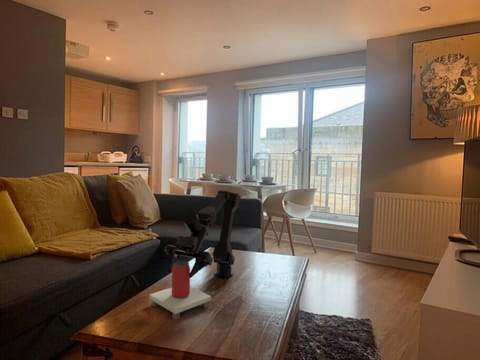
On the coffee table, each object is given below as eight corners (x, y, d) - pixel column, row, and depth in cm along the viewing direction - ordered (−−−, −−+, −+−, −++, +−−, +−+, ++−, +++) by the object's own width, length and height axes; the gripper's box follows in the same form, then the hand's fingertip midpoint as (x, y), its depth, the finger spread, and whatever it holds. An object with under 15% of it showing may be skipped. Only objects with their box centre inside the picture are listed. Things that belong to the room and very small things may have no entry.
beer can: (177, 300, 117) (178, 267, 116) (168, 294, 122) (168, 262, 121) (193, 295, 122) (193, 263, 121) (183, 289, 126) (183, 259, 126)
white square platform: (149, 304, 121) (149, 294, 121) (184, 293, 133) (184, 283, 133) (175, 320, 111) (175, 309, 110) (210, 306, 122) (211, 296, 122)
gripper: (167, 224, 127) (148, 259, 118) (210, 230, 120) (193, 269, 110) (178, 239, 135) (161, 274, 126) (219, 246, 127) (204, 284, 118)
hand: (178, 275), depth 120 cm, fingers open, 9 cm apart
